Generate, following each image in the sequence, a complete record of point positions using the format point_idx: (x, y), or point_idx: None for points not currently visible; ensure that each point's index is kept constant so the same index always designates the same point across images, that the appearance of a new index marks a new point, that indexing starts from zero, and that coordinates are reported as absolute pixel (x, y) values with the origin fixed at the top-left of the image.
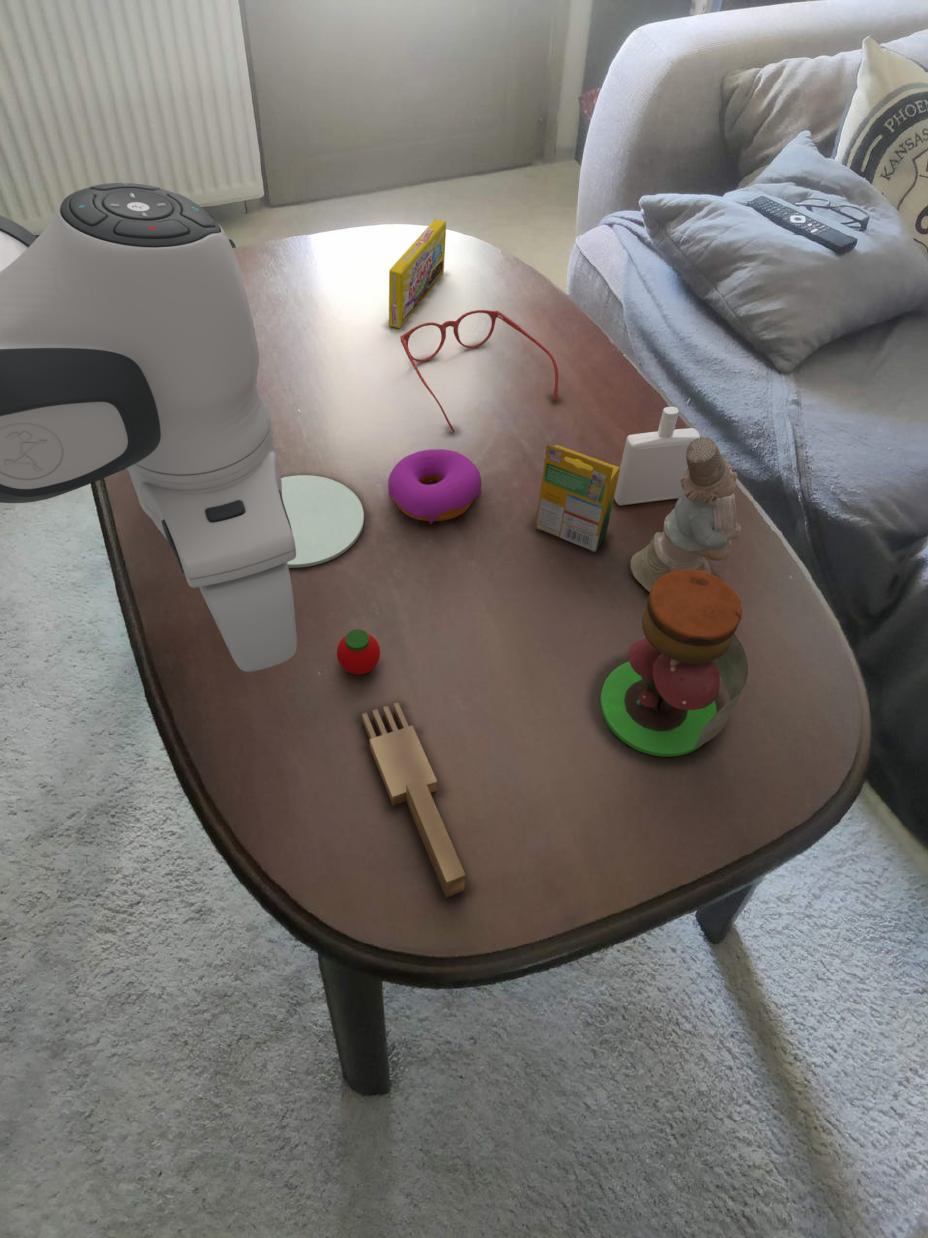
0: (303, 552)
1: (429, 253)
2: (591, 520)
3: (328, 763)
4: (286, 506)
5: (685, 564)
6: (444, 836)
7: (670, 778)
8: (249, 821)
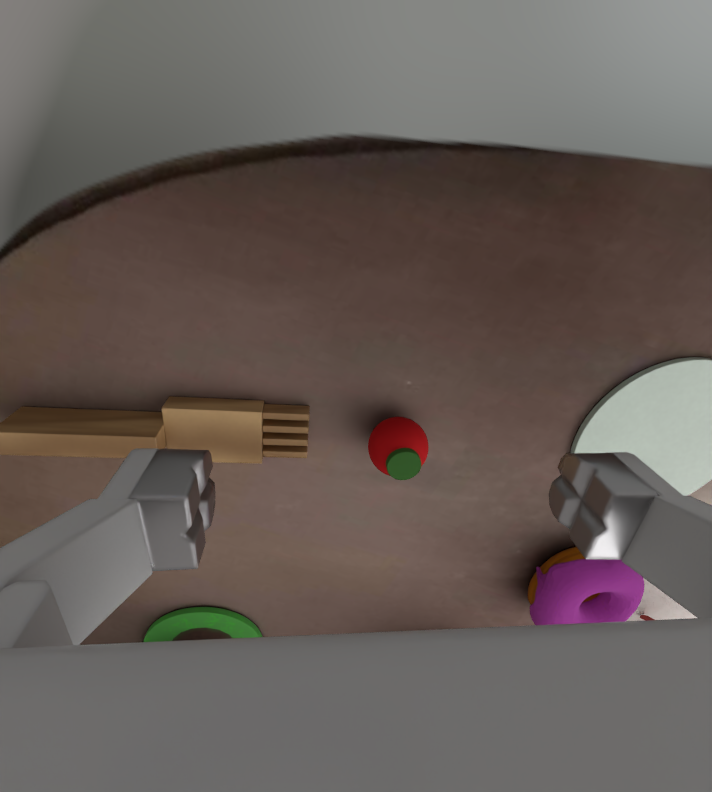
0: (604, 430)
1: None
2: None
3: (263, 345)
4: (692, 436)
5: None
6: (61, 452)
7: (123, 625)
8: (206, 206)
